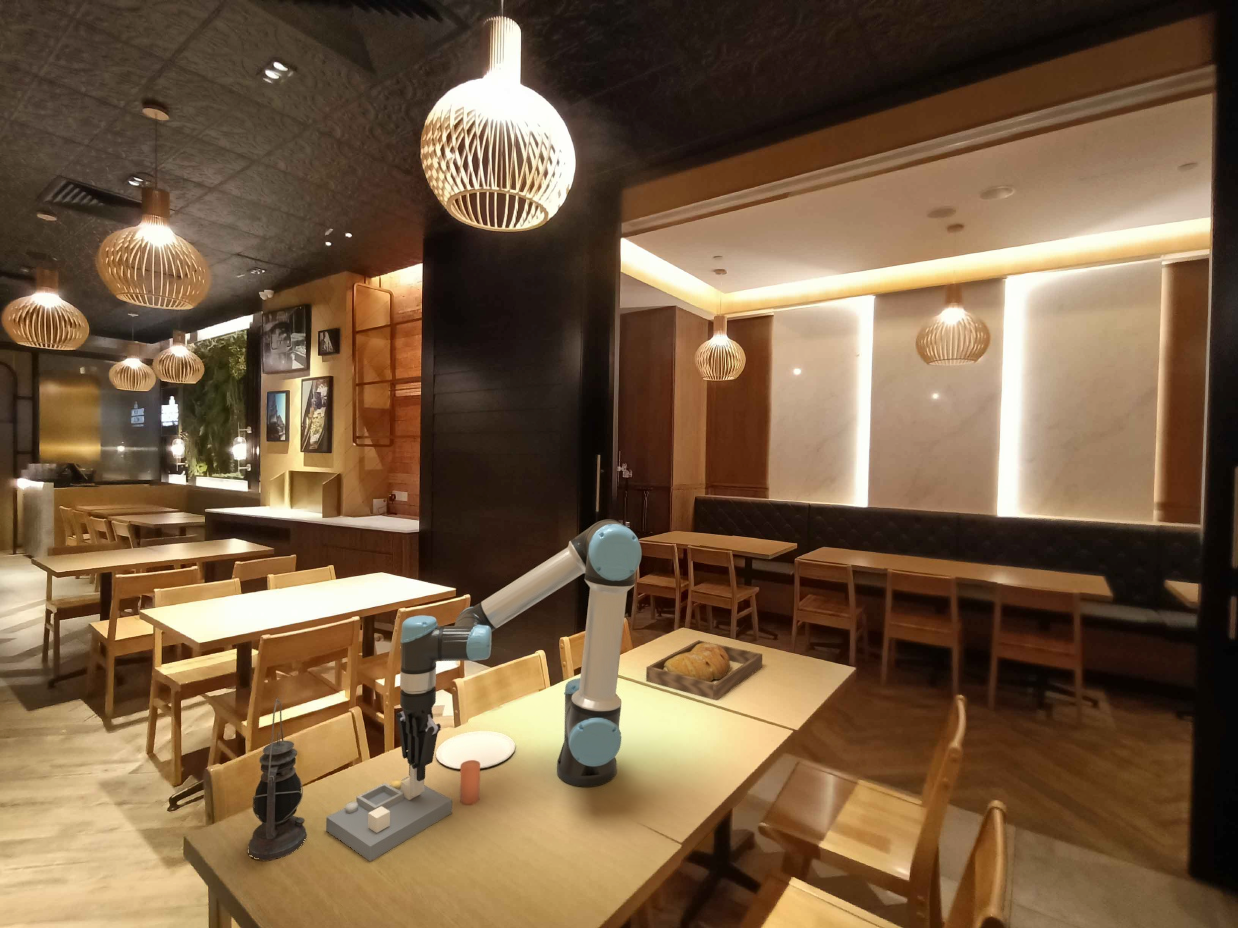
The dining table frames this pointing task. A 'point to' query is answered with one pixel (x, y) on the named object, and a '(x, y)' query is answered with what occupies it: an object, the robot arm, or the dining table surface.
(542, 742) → the dining table surface
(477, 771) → the cap
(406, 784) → the toggle
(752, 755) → the dining table surface
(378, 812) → the toggle
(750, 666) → the bread tray
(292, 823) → the lantern
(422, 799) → the grey flat block
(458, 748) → the plate
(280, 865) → the dining table surface
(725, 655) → the bread
